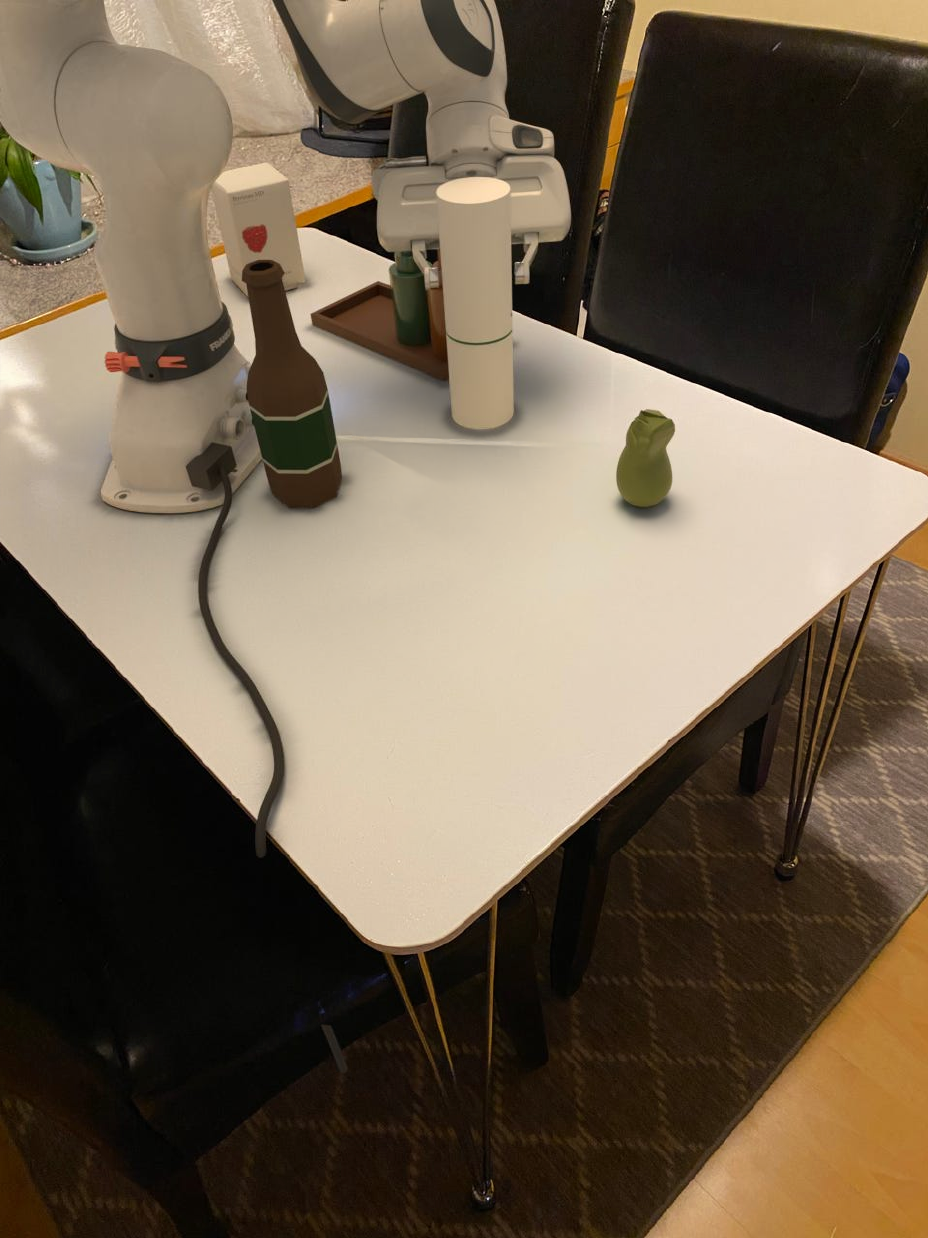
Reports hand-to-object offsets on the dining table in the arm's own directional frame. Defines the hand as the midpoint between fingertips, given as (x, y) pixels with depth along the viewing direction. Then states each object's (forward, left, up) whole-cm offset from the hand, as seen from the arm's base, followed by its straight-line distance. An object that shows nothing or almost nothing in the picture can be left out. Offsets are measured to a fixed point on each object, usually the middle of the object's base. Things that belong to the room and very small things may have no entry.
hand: (477, 284), depth 94 cm
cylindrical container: (-1, 0, -15) cm, 15 cm away
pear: (-16, -18, -15) cm, 29 cm away
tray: (+18, +12, -15) cm, 26 cm away
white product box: (+34, +36, -15) cm, 52 cm away
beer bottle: (-16, +17, -15) cm, 28 cm away
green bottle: (+17, +11, -15) cm, 25 cm away
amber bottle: (+13, +5, -15) cm, 20 cm away
